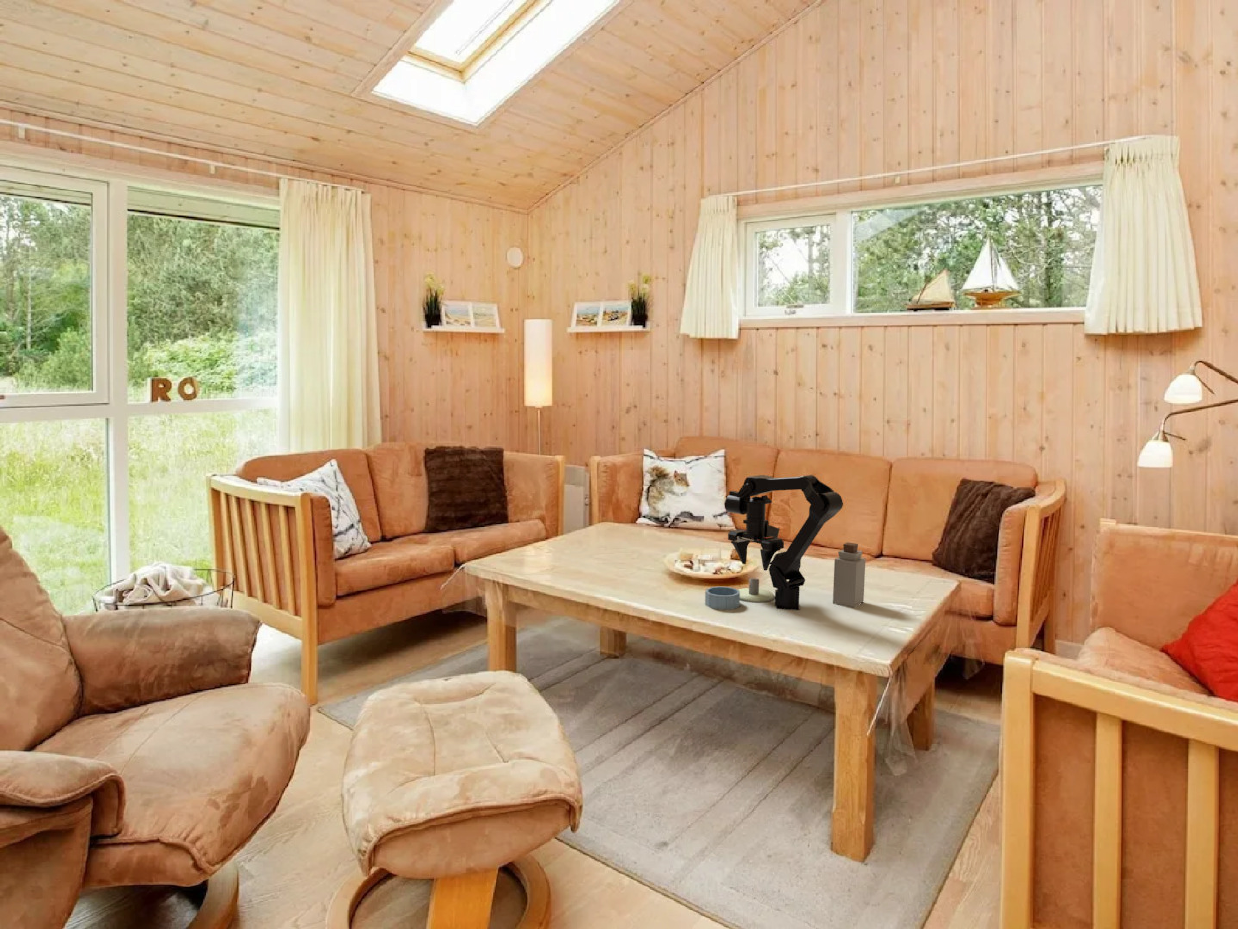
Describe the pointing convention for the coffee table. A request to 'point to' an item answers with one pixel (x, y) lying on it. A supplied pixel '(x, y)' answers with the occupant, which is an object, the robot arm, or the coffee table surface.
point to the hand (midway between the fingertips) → (754, 567)
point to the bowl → (722, 598)
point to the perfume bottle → (849, 576)
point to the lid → (755, 592)
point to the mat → (760, 602)
